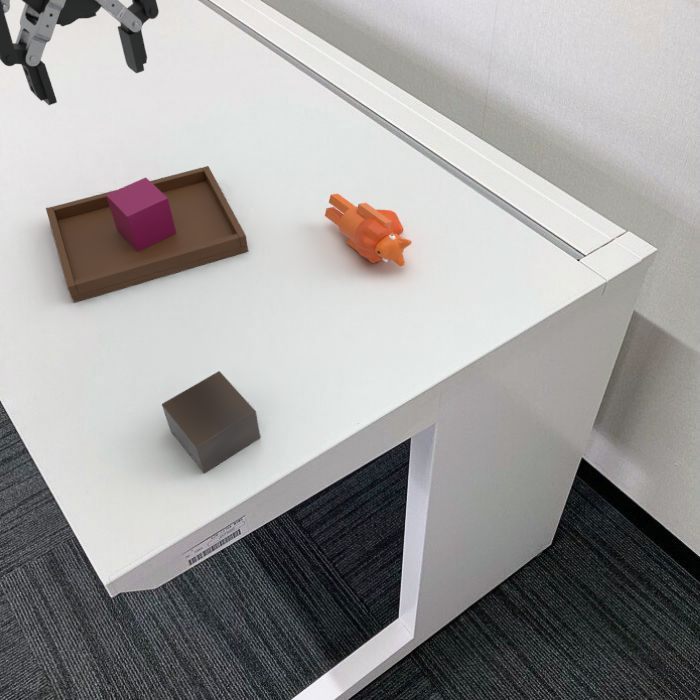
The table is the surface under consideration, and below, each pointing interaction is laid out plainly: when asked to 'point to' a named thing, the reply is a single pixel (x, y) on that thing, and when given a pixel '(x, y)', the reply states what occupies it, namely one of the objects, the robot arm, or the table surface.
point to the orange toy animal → (369, 230)
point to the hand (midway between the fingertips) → (93, 84)
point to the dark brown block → (212, 421)
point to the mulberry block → (141, 214)
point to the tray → (156, 260)
